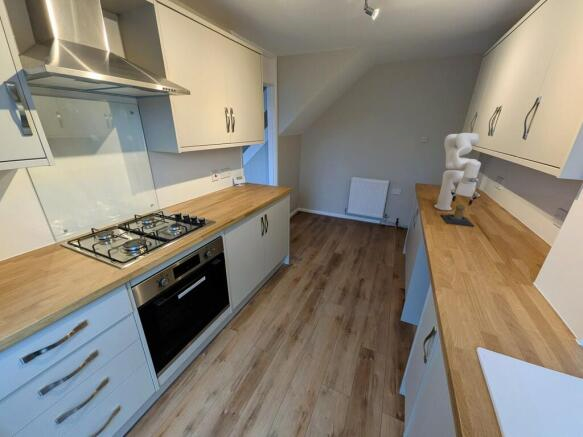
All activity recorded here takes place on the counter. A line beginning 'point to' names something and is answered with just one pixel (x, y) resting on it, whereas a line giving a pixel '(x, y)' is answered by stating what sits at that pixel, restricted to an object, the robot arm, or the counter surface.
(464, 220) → the pad
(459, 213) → the olive green tapered piece
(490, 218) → the counter surface
